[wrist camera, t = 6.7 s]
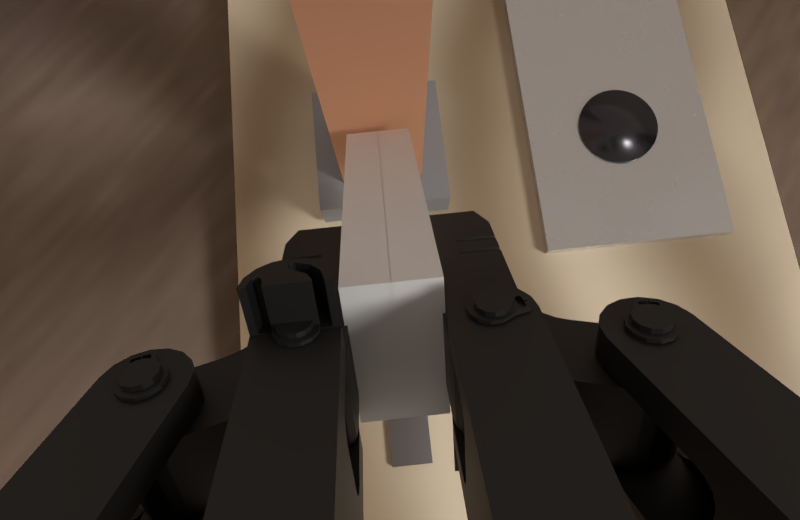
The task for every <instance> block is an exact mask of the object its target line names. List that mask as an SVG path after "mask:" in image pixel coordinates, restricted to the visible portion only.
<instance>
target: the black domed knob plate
mask: <svg viewBox="0 0 800 520" xmlns="http://www.w3.org/2000/svg"><path fill="white" fill-rule="evenodd" d="M503 6H504V12H505V18H506V24H507V30H508V36H509V42H510V47H511V53H512V59H513V65H514V71H515V77H516V83H517V89H518V95H519V101H520V107H521V112H522V118H523V124H524V130H525V136H526V142H527V148H528V154H529V160H530V166H531V172H532V177H533V183H534V189H535V195H536V201H537V207H538V213H539V219H540V225H541V231H542V237H543V242H544V248H545V254H547V253H557V252H567V251H576V250H586V249H595V248H605V247H614V246H624V245H634V244H643V243H653V242H662V241H672V240H682V239H691V238H701V237H710V236H720V235H728V234H730V233H732V232H734V227H733V223H732V219H731V215H730V211H729V207H728V203H727V199H726V195H725V191H724V187H723V183H722V179H721V175H720V171H719V167H718V163H717V159H716V155H715V151H714V147H713V143H712V140H711V136H710V132H709V128H708V124H707V120H706V116H705V112H704V108H703V104H702V100H701V96H700V92H699V88H698V84H697V80H696V76H695V72H694V68H693V64H692V60H691V56H690V52H689V48H688V44H687V41H686V37H685V33H684V29H683V25H682V21H681V17H680V13H679V9H678V5H677V1H676V0H503Z"/></svg>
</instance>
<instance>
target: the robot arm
mask: <svg viewBox="0 0 800 520" xmlns="http://www.w3.org/2000/svg"><path fill="white" fill-rule="evenodd" d="M236 289H237V293H238V296H239V300H240V303H241V307H242V310H243V314H244V317H245V321H246V324H247V328H248V331H249V335H250V337H249V341H248V345H247V347H245V348H244V349H242V350H240V351H239V352H237V353H234V354H232V355H230V356H227V357H225V358H222V359H219V360H216V361H213V362H210V363H206V364H203V365H200V366H197V367H194V365H193V362H192V359H190V358H189V357H188V356H187V355H186V354H185V353H183V352H181V351H177V350H173V349H156V350H148V351H145V352H142V353H139V354H136V355H132V356H130V357H128V358H126V359H124V360H123V361H121V362H119V363H117V364H115V365H113V366H112V367H111V368H110V369H109V370H108V371H106V372H105V373H104V374H103V375H102V376H101V377H100V378H99V379H98V380H97V381H96V382H95V383H94V384H93V385H92V387H91V388H90V389H89V390H88V391H87V392H86V393H85V394H84V396H83V397H82V398H81V399H80V400H79V401H78V402H77V404H76V405H75V406H74V407H73V408H72V409H71V410H70V412H69V413H68V414H67V415H66V416H65V417H64V418H63V420H62V421H61V422H60V423H59V424H58V425H57V426H56V428H55V429H54V430H53V431H52V432H51V433H50V434H49V436H48V437H47V438H46V439H45V440H44V441H43V442H42V444H41V445H40V446H39V447H38V448H37V449H36V450H35V451H34V453H33V454H32V455H31V456H30V457H29V458H28V459H27V461H26V462H25V463H24V464H23V465H22V466H21V467H20V469H19V470H18V471H17V472H16V473H15V474H14V475H13V477H12V478H11V479H10V480H9V481H8V482H7V483H6V485H5V486H4V487H3V488H2V489H1V490H0V520H364V513H363V448H362V442H361V436H360V431H359V414H360V420H361V423H363V422H372V421H382V420H391V419H401V418H410V417H420V416H429V415H439V414H448V413H450V406H451V412H452V420H453V442H454V463H455V471H459V474H460V479H461V485H462V491H463V496H464V502H465V507H466V513H467V519H468V520H800V397H799V396H798V395H797V394H795V393H794V392H793V391H791V390H790V389H789V388H788V387H786V386H785V385H784V384H782V383H781V382H780V381H779V380H777V379H776V378H775V377H773V376H772V375H771V374H770V373H768V372H767V371H766V370H764V369H763V368H762V367H760V366H759V365H758V364H757V363H755V362H754V361H753V360H751V359H750V358H749V357H748V356H746V355H745V354H744V353H742V352H741V351H740V350H739V349H737V348H736V347H735V346H733V345H732V344H731V343H729V342H728V341H727V340H726V339H724V338H723V337H722V336H720V335H719V334H718V333H717V332H715V331H714V330H713V329H711V328H710V327H709V326H708V325H706V324H705V323H704V322H702V321H701V320H700V319H698V318H697V317H696V316H695V315H693V314H692V313H690V312H688V311H687V310H685V309H683V308H681V307H680V306H678V305H676V304H673V303H670V302H666V301H663V300H660V299H655V298H645V297H633V298H625V299H619V300H617V301H615V302H613V303H611V304H608V305H607V306H606V307H605V308H604V310H603V311H602V312H601V313H600V315H599V322H598V323H595V322H586V321H577V320H569V319H563V318H557V317H554V316H551V315H548V314H545V313H542V311H541V309H540V307H539V305H538V304H537V303H536V301H535V300H534V299H533V298H532V297H531V295H529V294H527V293H525V292H523V291H521V290H520V289H518V288H517V286H516V284H515V282H514V279H513V277H512V275H511V272H510V270H509V268H508V265H507V263H506V261H505V258H504V256H503V254H502V251H501V250H500V247H499V244H498V242H497V239H496V238H495V235H494V232H493V230H492V228H491V225H490V223H489V221H487V220H486V219H484V218H483V217H482V216H480V215H479V214H477V213H476V212H475V211H465V212H456V213H446V214H436V215H429V212H428V208H427V204H426V200H425V195H424V191H423V187H422V183H421V178H420V174H419V170H418V166H417V162H416V157H415V153H414V149H413V145H412V140H411V136H410V132H409V128H404V129H394V130H384V131H374V132H364V133H354V134H347V136H346V155H345V173H344V191H343V209H342V226H336V227H326V228H317V229H307V230H298V231H297V233H296V234H295V235H294V236H293V237H292V238H291V239H290V240H289V241H288V242H287V243H286V244H285V248H284V253H283V257H282V260H280V261H275V262H271V263H269V264H266V265H264V266H261V267H259V268H257V269H255V270H254V271H252V272H251V273H250V274H248V275H247V276H245V277H244V278H243V279H242V281H241V282H240V284H239V285H238V287H237V288H236Z"/></svg>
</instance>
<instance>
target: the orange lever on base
mask: <svg viewBox="0 0 800 520" xmlns="http://www.w3.org/2000/svg"><path fill="white" fill-rule="evenodd" d="M289 1H290V5H291V8H292V11H293V15H294V18H295V21H296V25H297V28H298V31H299V35H300V38H301V41H302V45H303V48H304V51H305V55H306V58H307V61H308V65H309V68H310V71H311V75H312V78H313V81H314V85H315V88H316V91H317V92H313V93H311V94H312V107H313V121H314V134H315V148H316V161H317V175H318V188H319V201H320V211H321V213H322V215H323V218H324V220H325V222H333V221H342V209H343V191H344V173H345V155H346V136H347V134H354V133H364V132H374V131H384V130H394V129H404V128H409V132H410V136H411V140H412V145H413V149H414V153H415V157H416V162H417V166H418V170H419V174H420V178H421V183H422V187H423V191H424V195H425V200H426V204H427V208H428V212H429V211H439V210H448V206H449V202H450V189H449V182H448V174H447V167H446V159H445V151H444V144H443V136H442V129H441V121H440V113H439V106H438V98H437V91H436V83H435V80H432V81H428V69H429V54H430V38H431V23H432V8H433V0H289Z"/></svg>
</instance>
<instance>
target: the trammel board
mask: <svg viewBox="0 0 800 520" xmlns="http://www.w3.org/2000/svg"><path fill="white" fill-rule="evenodd" d="M676 1H677V5H678V9H679V13H680V17H681V21H682V25H683V29H684V33H685V37H686V41H687V44H688V48H689V52H690V56H691V60H692V64H693V68H694V72H695V76H696V80H697V84H698V88H699V92H700V96H701V100H702V104H703V108H704V112H705V116H706V120H707V124H708V128H709V132H710V136H711V140H712V143H713V147H714V151H715V155H716V159H717V163H718V167H719V171H720V175H721V179H722V183H723V187H724V191H725V195H726V199H727V203H728V207H729V211H730V215H731V219H732V223H733V227H734V232H732V233H730V234H728V235H720V236H710V237H701V238H691V239H682V240H672V241H662V242H653V243H643V244H634V245H624V246H614V247H605V248H595V249H586V250H576V251H567V252H557V253H547V254H545V248H544V242H543V237H542V231H541V225H540V219H539V213H538V207H537V201H536V195H535V189H534V183H533V177H532V172H531V166H530V160H529V154H528V148H527V142H526V136H525V130H524V124H523V118H522V112H521V107H520V101H519V95H518V89H517V83H516V77H515V71H514V65H513V59H512V53H511V47H510V42H509V36H508V30H507V24H506V18H505V12H504V6H503V0H433V8H432V23H431V38H430V54H429V69H428V81H432V80H435V83H436V91H437V98H438V106H439V113H440V121H441V129H442V136H443V144H444V151H445V159H446V167H447V174H448V182H449V189H450V202H449V206H448V210H439V211H429V215H436V214H446V213H456V212H465V211H475V212H476V213H477V214H479V215H480V216H482V217H483V218H484V219H486V220H487V221H489V223H490V225H491V228H492V230H493V232H494V235H495V238H496V239H497V242H498V244H499V247H500V250H501V251H502V254H503V256H504V258H505V261H506V263H507V265H508V268H509V270H510V272H511V275H512V277H513V279H514V282H515V284H516V286H517V288H518V289H520V290H521V291H523V292H525V293H527V294H529V295H531V297H532V298H533V299H534V300H535V301H536V303H537V304H538V305H539V307H540V309H541V311H542V313H545V314H548V315H551V316H554V317H557V318H563V319H569V320H577V321H586V322H595V323H598V322H599V315H600V313H601V312H602V311H603V310H604V308H605V307H606V306H607V305H608V304H611V303H613V302H615V301H617V300H619V299H625V298H633V297H645V298H655V299H660V300H663V301H666V302H670V303H673V304H676V305H678V306H680V307H681V308H683V309H685V310H687V311H688V312H690V313H692V314H693V315H695V316H696V317H697V318H698V319H700V320H701V321H702V322H704V323H705V324H706V325H708V326H709V327H710V328H711V329H713V330H714V331H715V332H717V333H718V334H719V335H720V336H722V337H723V338H724V339H726V340H727V341H728V342H729V343H731V344H732V345H733V346H735V347H736V348H737V349H739V350H740V351H741V352H742V353H744V354H745V355H746V356H748V357H749V358H750V359H751V360H753V361H754V362H755V363H757V364H758V365H759V366H760V367H762V368H763V369H764V370H766V371H767V372H768V373H770V374H771V375H772V376H773V377H775V378H776V379H777V380H779V381H780V382H781V383H782V384H784V385H785V386H786V387H788V388H789V389H790V390H791V391H793V392H794V393H795V394H797V395H798V396H799V397H800V269H799V266H798V262H797V259H796V255H795V251H794V248H793V244H792V240H791V237H790V233H789V230H788V226H787V222H786V219H785V215H784V211H783V208H782V204H781V201H780V197H779V193H778V190H777V186H776V182H775V179H774V175H773V172H772V168H771V164H770V161H769V157H768V153H767V150H766V146H765V143H764V139H763V135H762V132H761V128H760V124H759V121H758V117H757V114H756V110H755V106H754V103H753V99H752V95H751V92H750V88H749V85H748V81H747V77H746V74H745V70H744V66H743V63H742V59H741V56H740V52H739V48H738V45H737V41H736V37H735V34H734V30H733V27H732V23H731V19H730V16H729V12H728V8H727V5H726V1H725V0H676ZM228 21H229V47H230V74H231V101H232V127H233V154H234V180H235V207H236V233H237V260H238V285H239V284H240V282H241V281H242V279H243V278H244V277H245V276H247V275H248V274H250V273H251V272H252V271H254V270H255V269H257V268H259V267H261V266H264V265H266V264H269V263H271V262H275V261H280V260H282V257H283V253H284V248H285V244H286V243H287V242H288V241H289V240H290V239H291V238H292V237H293V236H294V235H295V234H296V233H297V231H298V230H307V229H317V228H326V227H336V226H342V221H333V222H325V220H324V218H323V215H322V213H321V211H320V201H319V188H318V175H317V161H316V148H315V134H314V121H313V107H312V94H311V93H313V92H317V91H316V88H315V85H314V81H313V78H312V75H311V71H310V68H309V65H308V61H307V58H306V55H305V51H304V48H303V45H302V41H301V38H300V35H299V31H298V28H297V25H296V21H295V18H294V15H293V11H292V8H291V5H290V1H289V0H228ZM239 313H240V340H241V350H242V349H244V348H245V347H247V345H248V341H249V337H250V335H249V331H248V328H247V324H246V321H245V317H244V314H243V310H242V307H241V303H240V300H239ZM359 431H360V436H361V442H362V448H363V513H364V520H468V519H467V513H466V507H465V502H464V496H463V491H462V485H461V479H460V474H459V471H455V463H454V442H453V420H452V412H451V406H450V413H448V414H439V415H429V416H420V417H410V418H401V419H391V420H382V421H372V422H363V423H361V420H360V414H359Z"/></svg>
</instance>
